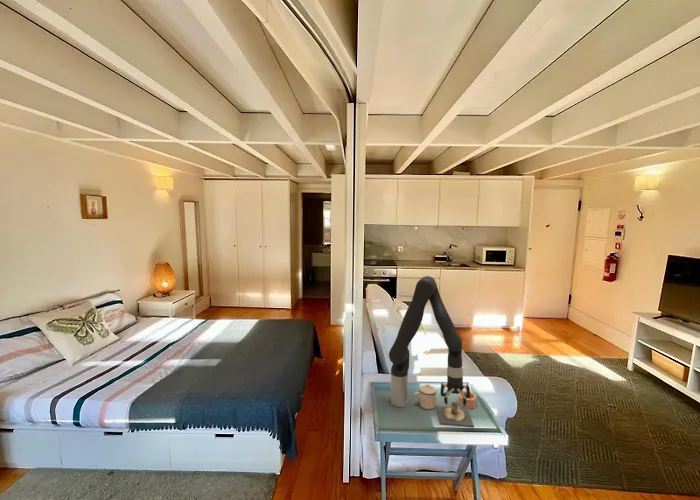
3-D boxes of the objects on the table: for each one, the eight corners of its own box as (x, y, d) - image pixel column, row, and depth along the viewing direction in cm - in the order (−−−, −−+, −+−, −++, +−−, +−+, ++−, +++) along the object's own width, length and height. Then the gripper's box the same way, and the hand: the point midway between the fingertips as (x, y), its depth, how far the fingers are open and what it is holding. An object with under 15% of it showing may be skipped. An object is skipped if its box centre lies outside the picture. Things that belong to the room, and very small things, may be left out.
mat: (439, 424, 153) (440, 422, 153) (436, 407, 166) (436, 406, 166) (473, 427, 150) (473, 425, 150) (467, 410, 164) (467, 408, 164)
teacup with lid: (434, 400, 173) (434, 380, 172) (437, 410, 164) (438, 389, 163) (412, 399, 174) (413, 380, 173) (415, 409, 165) (415, 388, 164)
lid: (445, 420, 154) (445, 409, 153) (442, 408, 164) (443, 397, 163) (466, 422, 152) (466, 410, 152) (462, 410, 162) (462, 399, 162)
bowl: (460, 408, 166) (460, 399, 165) (456, 398, 175) (457, 390, 174) (477, 409, 164) (478, 400, 164) (473, 399, 173) (474, 391, 173)
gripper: (441, 376, 154) (441, 407, 155) (471, 378, 151) (471, 409, 152) (439, 369, 161) (439, 399, 162) (468, 371, 159) (468, 401, 160)
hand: (455, 404), depth 157 cm, fingers open, 8 cm apart
